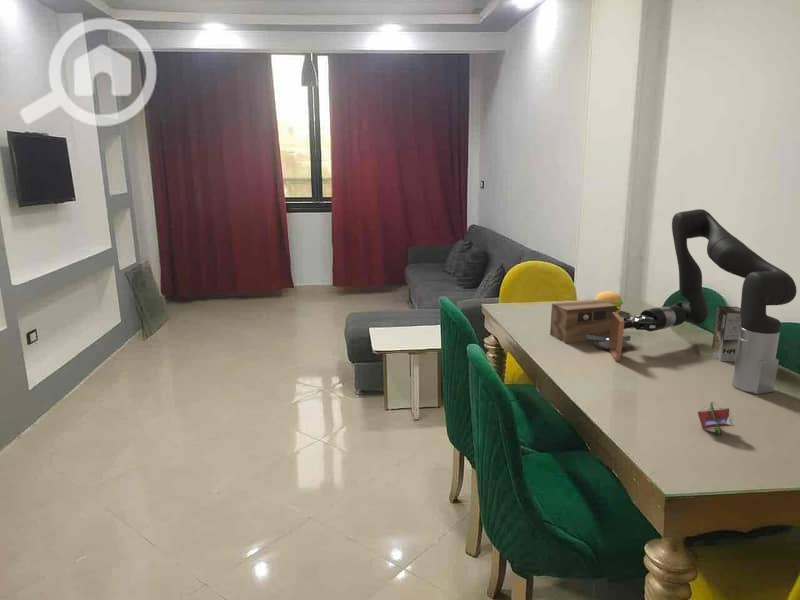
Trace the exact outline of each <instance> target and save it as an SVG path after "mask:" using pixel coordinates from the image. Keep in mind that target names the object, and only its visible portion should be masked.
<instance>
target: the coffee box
mask: <svg viewBox="0 0 800 600" xmlns="http://www.w3.org/2000/svg"><path fill="white" fill-rule="evenodd" d="M740 308H741V307H739V306H720V305H719V306H717V307H716V315H715V321H714V322H715V324H714V330H713V338H712V346H711V353H712V355H714V356H715V357H716V358H717V359H718V360H719V361H721V362H733V363H735V360H736V353H737V346H738V340H739V333H740V327H741V317H740Z"/></svg>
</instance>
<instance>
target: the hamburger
mask: <svg viewBox="0 0 800 600" xmlns="http://www.w3.org/2000/svg"><path fill="white" fill-rule="evenodd" d="M598 299H600V300H602V301H605V302H608V303H610V304H613V305H616V312H617V313H618V314H619V313H620V312H621V309H622V305H623V304H624V300H623V299H622V297H621V295H620V294H618V293H617V292H614V291H611V290H606V291H601V292H599V293H598V294H597V295H596V297H595V298H594V299H593V300H598Z"/></svg>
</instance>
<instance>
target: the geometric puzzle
mask: <svg viewBox="0 0 800 600" xmlns="http://www.w3.org/2000/svg"><path fill="white" fill-rule="evenodd" d="M714 405H715V406H716V407H718V404H715V402H713V401H711V402H710V404H709V408H708V409H706V410H703V409H704V408H705V407H706V406H705V407H703V408H702V409H700V410H699V411H697V415H698V418H699V422H700V425H701V428H702V430H706V429H707V431H708V432H709V430H712V429H716V430H717V433H716V435H718V436H719V437H720V436H721V432H722V431H723V429H724V428H726V427H727V428H732V427H734V426H735V415H734V414H733V413H732V411H731V409H730V408H728V407H727V408H721V407H722V405H721V404H720V405H719V406H720V407H719V409H715V406H714ZM708 429H709V430H708ZM712 433H715V432H714V431H713V430H712Z"/></svg>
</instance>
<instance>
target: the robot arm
mask: <svg viewBox="0 0 800 600" xmlns="http://www.w3.org/2000/svg"><path fill="white" fill-rule="evenodd" d="M671 219H672V220H671V232H672V238H673V244H674V249H675V255H676V260H677V266H678V279H679V280H678V284H679V285H678V286H679V287H678V289H679V295H680V296H681V297H682V298H685V299H686V300H687V301H686V300H683V301H682V300H681V301H678V302H676V303H674V304H673V305H668V306H658V307H653V308H647V309H644V310H642V312H641V313H639V314H636V315H633V316H630V315H629V314H627V313H624V316H623V318H622V319H623V320H624V330H626V329H630V330H631V329H632V330H633V329H635V330H637V331H646V332H655V331H660V330H665V329H668V328H671V327H676V326H679V325H682V324H683V323H684V322H685V323H691V324H694V325H701V324H703V323H705V322H706V320H707V318H708V315H709V310H708V305H707V302H706V299H705V294H704V293H703V275H702V274H703V273H702V269H701V268H700V266H699V264H698V263H697V262H696V260H695V258H694V257H693V256H692V254H691V253H690V251H689V248H688V239H689V240H690V239H693V238H705V239H706V240H708V241H707V246H706V253H707V256H708V258H709V259H710V260H711V261H712V262H713V263H714V264H716V265H717V266H718V267H719V268H720V269H721V270H723V271H724V272H728V273H729V274H731V275H735V276H738V277H740V278H743V279H744V280H743V283H742V287H741V299H740V307H739V308H740V317H741V327H740V333H739V340H738V346H737V353H736V360H735V362H734V367H733V374H732V375H733V376H732V382H731V385H732V386H733V387H734V388H737V389H739V390H741V391H743V392H748V393H752V394H755V395H760V394H767V393H774V391H775V384H776V379H777V374H778V370H779V369H778V368H779V358H777V352H778V346H779V339H780V334H781V329H782V328H781V327H782V322H781V321H780V320H779V319H778V318H775V317H773V316H769V315H768V314H767V306H782V305H787V304H789V303H790V302H793V300H794V299H795V297H796V296H797V286H796V283H795V281H794V279H793V277H792V276H791V275H790V274H788V273H787V272H786V271H784V270H782V269H781V268H780V267H778V266H775V264H772V263H770V262H768V261H767V260H765V259H764V258H763V257H761V255H759V254H757V253H756V252H755V251H754V250H752V249H751V248H749V247H748V246H747V245H746V244H744V243H743V241H741V240H740V239H738V238H737V237H735V236H734V235H733V234H731V233H730V232H729V231H728V230H727V229H726V228H725V227H723V226H722V225H721V224H720V223H719V222H718V221H717V220H716V219H715V218H714V216H713V215H712V214H711V213H709V212H708V211H707V210H705V209H700V208H699V209H693V210H686V211H680V212H677V213H675V214H674V215H673V217H672V218H671Z"/></svg>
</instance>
